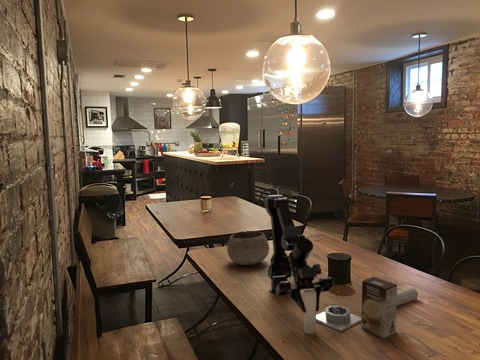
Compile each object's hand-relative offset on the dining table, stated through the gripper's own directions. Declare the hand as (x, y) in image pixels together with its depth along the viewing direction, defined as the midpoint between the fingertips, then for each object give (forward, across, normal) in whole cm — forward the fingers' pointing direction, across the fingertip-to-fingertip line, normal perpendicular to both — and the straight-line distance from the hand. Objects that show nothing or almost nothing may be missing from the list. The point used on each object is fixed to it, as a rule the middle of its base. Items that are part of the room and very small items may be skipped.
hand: (311, 311), depth 126 cm
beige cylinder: (+4, 0, +6) cm, 7 cm away
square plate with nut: (0, +12, +10) cm, 15 cm away
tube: (-4, +36, +14) cm, 39 cm away
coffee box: (+7, +22, +3) cm, 23 cm away
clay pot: (-47, -4, +57) cm, 74 cm away
